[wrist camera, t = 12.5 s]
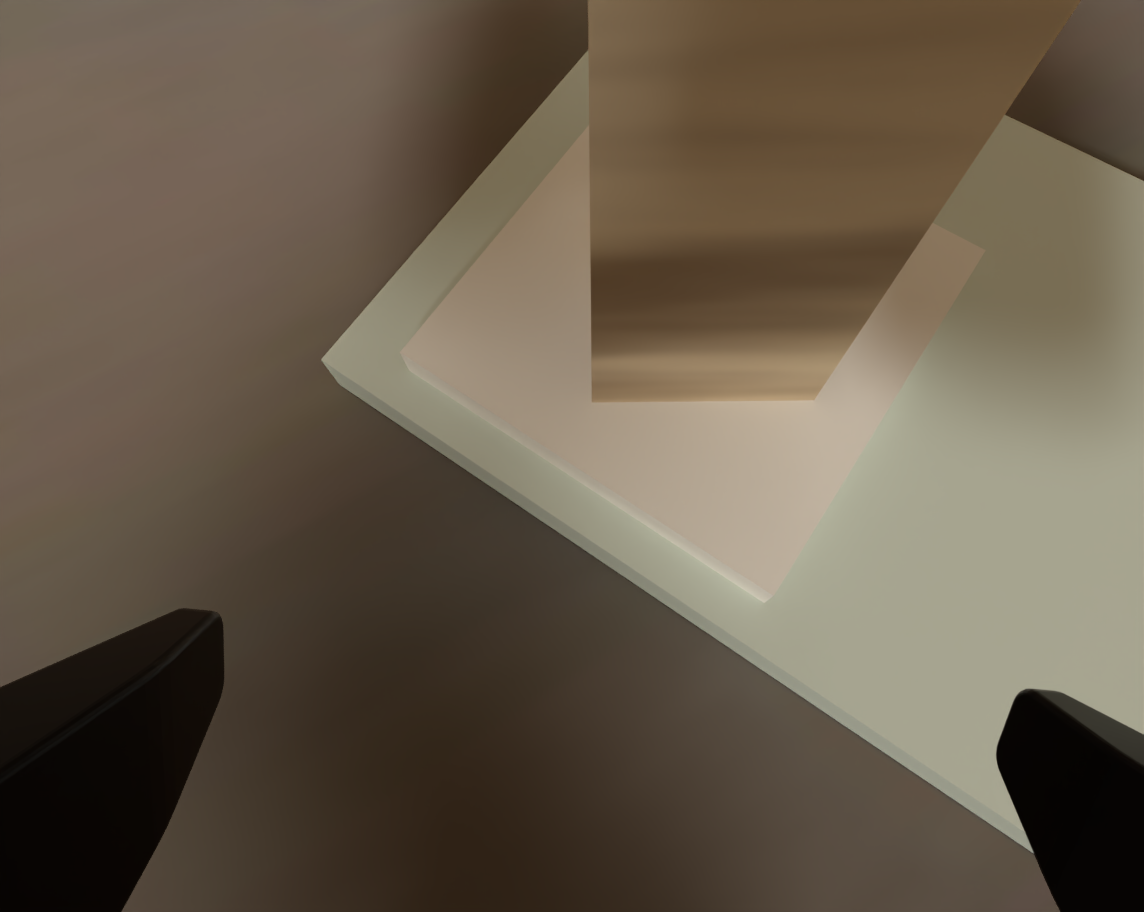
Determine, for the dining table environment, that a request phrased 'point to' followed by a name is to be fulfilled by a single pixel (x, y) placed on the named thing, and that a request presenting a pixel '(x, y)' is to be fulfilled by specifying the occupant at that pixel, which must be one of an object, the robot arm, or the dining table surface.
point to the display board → (826, 445)
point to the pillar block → (776, 175)
